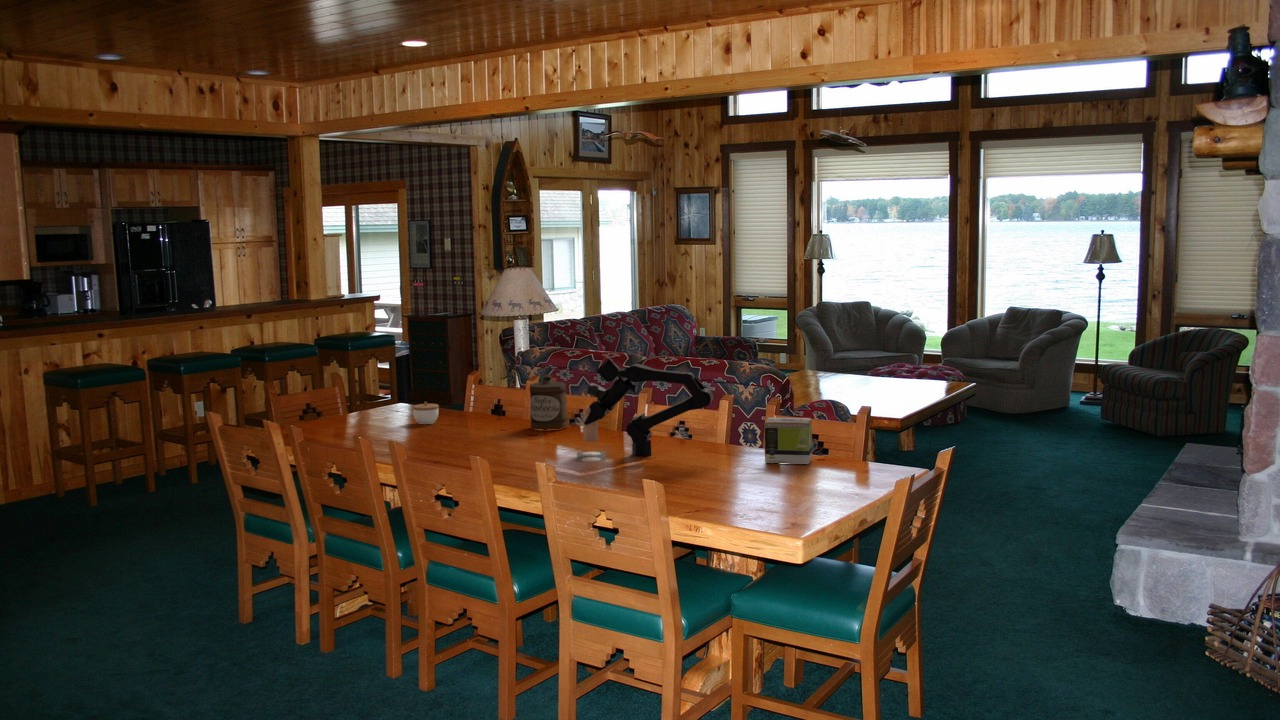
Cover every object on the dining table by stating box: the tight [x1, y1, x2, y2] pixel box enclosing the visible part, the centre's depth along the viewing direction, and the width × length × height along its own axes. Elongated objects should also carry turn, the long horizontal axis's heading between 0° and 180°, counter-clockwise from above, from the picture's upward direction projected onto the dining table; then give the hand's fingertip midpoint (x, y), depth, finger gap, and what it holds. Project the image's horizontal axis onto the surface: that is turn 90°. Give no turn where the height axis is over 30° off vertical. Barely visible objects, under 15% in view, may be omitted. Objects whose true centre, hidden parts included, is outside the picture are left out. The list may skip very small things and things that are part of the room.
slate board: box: [576, 451, 607, 463], centre depth 355 cm, size 16×10×1 cm, turn 3°
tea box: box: [763, 417, 813, 465], centre depth 345 cm, size 15×10×15 cm
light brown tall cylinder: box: [582, 405, 599, 443], centre depth 358 cm, size 5×5×12 cm
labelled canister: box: [529, 374, 568, 430], centre depth 413 cm, size 15×15×22 cm
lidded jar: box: [412, 401, 440, 425], centre depth 428 cm, size 11×11×9 cm
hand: (586, 422), depth 358 cm, fingers closed on light brown tall cylinder, 5 cm apart
